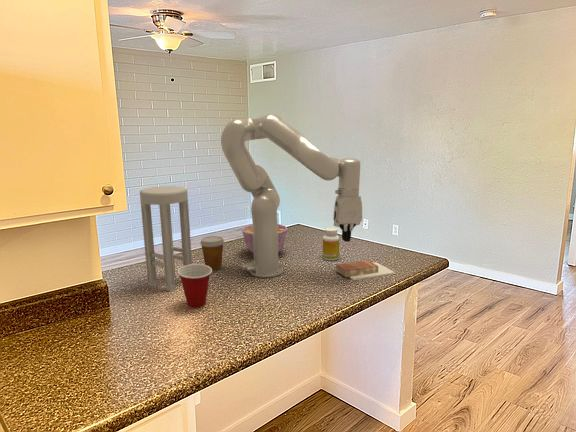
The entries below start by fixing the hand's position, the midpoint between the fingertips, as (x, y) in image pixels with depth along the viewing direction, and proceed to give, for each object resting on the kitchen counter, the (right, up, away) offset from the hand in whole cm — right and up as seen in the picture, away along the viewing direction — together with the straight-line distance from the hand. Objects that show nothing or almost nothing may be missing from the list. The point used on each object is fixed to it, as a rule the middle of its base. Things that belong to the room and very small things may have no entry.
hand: (346, 240), depth 160 cm
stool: (-65, -16, -4) cm, 67 cm away
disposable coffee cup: (-52, -12, +12) cm, 55 cm away
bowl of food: (-32, -8, +29) cm, 44 cm away
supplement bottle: (-4, -9, +22) cm, 24 cm away
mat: (+8, -12, +6) cm, 16 cm away
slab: (-2, -12, +2) cm, 12 cm away
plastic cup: (-52, -20, -22) cm, 59 cm away
